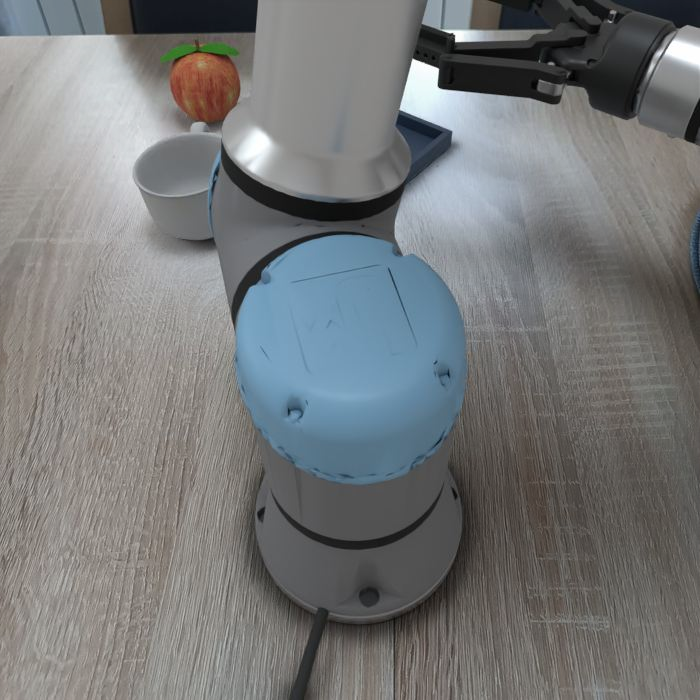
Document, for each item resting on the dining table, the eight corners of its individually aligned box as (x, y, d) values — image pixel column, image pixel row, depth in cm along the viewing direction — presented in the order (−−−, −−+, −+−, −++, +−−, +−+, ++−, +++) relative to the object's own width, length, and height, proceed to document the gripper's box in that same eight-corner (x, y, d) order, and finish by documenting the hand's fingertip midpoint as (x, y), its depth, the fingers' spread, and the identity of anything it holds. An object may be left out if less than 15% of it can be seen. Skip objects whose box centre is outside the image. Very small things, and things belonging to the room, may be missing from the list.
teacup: (233, 260, 68) (219, 198, 62) (135, 248, 69) (112, 186, 63) (270, 179, 76) (261, 117, 70) (182, 170, 78) (166, 108, 72)
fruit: (243, 133, 82) (229, 56, 75) (168, 134, 83) (147, 57, 75) (251, 96, 88) (239, 21, 80) (180, 97, 88) (162, 22, 80)
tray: (372, 212, 72) (372, 197, 71) (257, 155, 79) (255, 140, 78) (451, 146, 80) (452, 130, 78) (339, 100, 87) (339, 85, 85)
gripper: (570, 192, 48) (347, 98, 57) (696, 59, 60) (496, -2, 69) (598, 97, 43) (346, 9, 51) (731, -29, 55) (509, -83, 63)
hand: (432, 3), depth 60 cm, fingers open, 13 cm apart
